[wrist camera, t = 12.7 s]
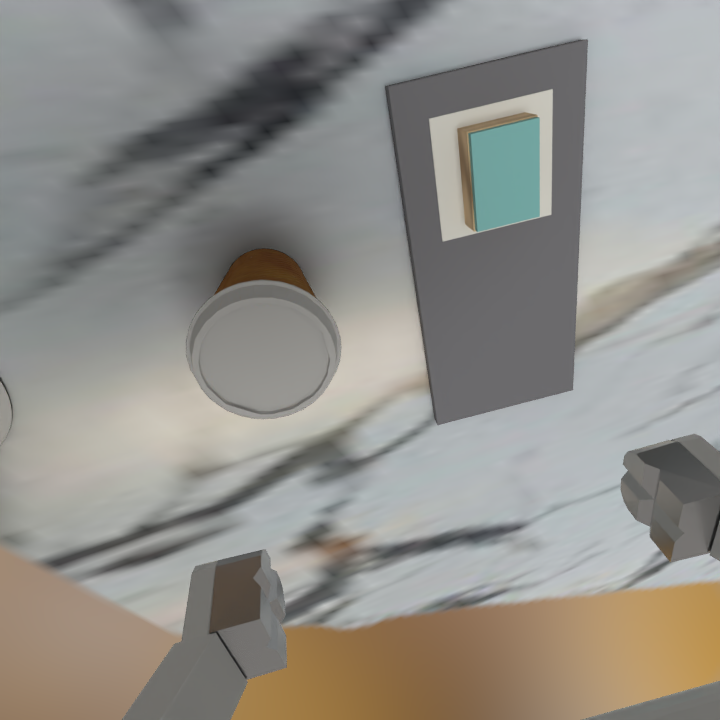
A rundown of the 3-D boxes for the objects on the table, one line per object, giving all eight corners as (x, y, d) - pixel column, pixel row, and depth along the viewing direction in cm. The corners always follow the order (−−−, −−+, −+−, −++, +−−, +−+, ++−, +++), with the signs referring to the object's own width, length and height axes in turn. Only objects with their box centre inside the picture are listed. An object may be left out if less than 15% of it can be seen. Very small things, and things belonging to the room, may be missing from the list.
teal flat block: (457, 128, 35) (469, 132, 33) (524, 112, 36) (541, 115, 33) (465, 224, 39) (476, 233, 37) (526, 209, 39) (541, 217, 37)
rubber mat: (434, 418, 50) (437, 425, 49) (385, 86, 34) (388, 87, 33) (567, 384, 51) (573, 390, 50) (580, 39, 35) (588, 39, 34)
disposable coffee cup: (178, 274, 39) (146, 351, 29) (276, 202, 37) (280, 256, 27) (257, 357, 44) (254, 448, 33) (347, 297, 42) (372, 372, 32)
